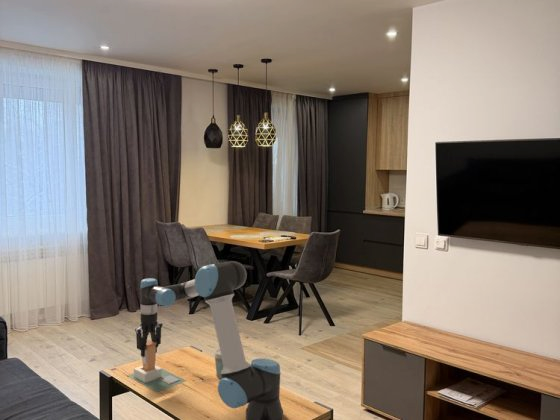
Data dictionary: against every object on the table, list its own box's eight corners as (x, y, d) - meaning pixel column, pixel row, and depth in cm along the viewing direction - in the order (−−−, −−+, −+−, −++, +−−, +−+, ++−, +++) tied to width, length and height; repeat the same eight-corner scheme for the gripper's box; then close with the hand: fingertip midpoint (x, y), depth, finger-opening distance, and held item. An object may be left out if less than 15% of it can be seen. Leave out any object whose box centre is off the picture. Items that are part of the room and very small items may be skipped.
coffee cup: (228, 381, 228) (229, 356, 227) (211, 379, 230) (211, 354, 229) (234, 373, 236) (234, 349, 235) (217, 371, 238) (217, 347, 237)
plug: (156, 372, 227) (156, 342, 226) (147, 375, 224) (147, 345, 223) (150, 369, 230) (150, 340, 229) (141, 372, 227) (141, 342, 226)
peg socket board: (186, 383, 224) (186, 372, 224) (157, 395, 212) (157, 383, 212) (155, 368, 240) (155, 357, 239) (126, 378, 228) (126, 367, 227)
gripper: (159, 306, 233) (159, 354, 236) (127, 314, 221) (128, 364, 223) (169, 310, 229) (169, 358, 231) (137, 318, 216) (137, 369, 218)
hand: (148, 361), depth 227 cm, fingers closed on plug, 4 cm apart
